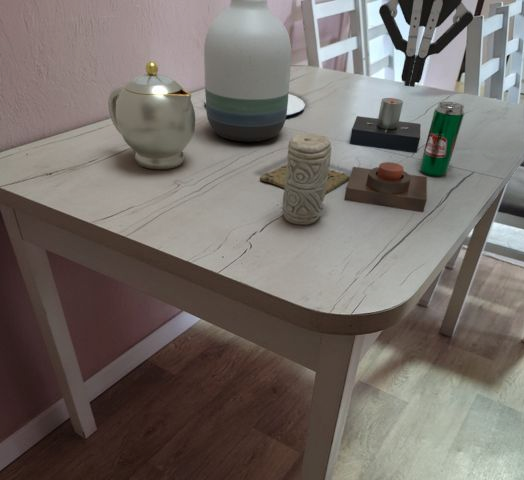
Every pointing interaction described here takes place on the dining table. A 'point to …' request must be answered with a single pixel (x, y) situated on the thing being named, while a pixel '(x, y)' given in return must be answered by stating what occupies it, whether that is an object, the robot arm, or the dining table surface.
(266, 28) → the vase
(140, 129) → the teapot
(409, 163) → the dining table surface
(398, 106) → the dial
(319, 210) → the carving
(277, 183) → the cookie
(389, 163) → the release button
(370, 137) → the dial panel
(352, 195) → the button console
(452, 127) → the soda can
